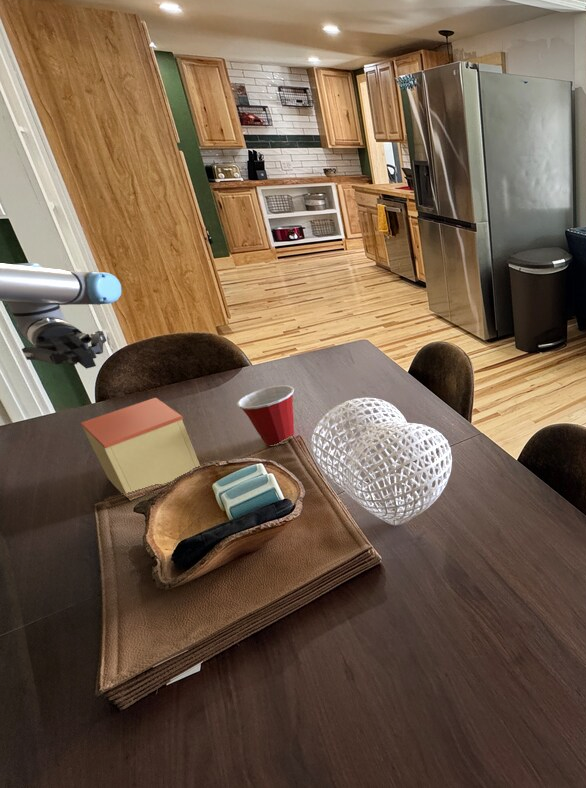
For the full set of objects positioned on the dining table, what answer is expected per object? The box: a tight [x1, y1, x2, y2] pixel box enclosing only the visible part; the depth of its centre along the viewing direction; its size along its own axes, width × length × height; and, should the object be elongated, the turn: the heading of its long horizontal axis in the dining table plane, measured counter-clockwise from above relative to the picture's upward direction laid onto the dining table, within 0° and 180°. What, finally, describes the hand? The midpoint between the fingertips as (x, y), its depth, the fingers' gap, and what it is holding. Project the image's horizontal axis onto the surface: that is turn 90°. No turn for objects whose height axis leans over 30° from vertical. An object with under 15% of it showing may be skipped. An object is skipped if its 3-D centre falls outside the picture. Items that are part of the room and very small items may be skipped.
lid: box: [80, 397, 184, 448], centre depth 93 cm, size 14×12×1 cm
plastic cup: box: [236, 384, 295, 447], centre depth 108 cm, size 11×11×12 cm
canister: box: [81, 419, 201, 494], centre depth 96 cm, size 13×12×13 cm
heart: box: [310, 397, 453, 526], centre depth 83 cm, size 28×16×22 cm, turn 53°
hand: (88, 361), depth 97 cm, fingers closed
